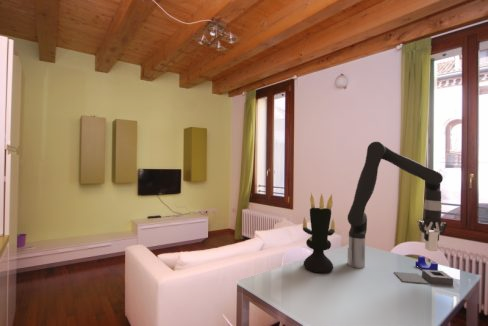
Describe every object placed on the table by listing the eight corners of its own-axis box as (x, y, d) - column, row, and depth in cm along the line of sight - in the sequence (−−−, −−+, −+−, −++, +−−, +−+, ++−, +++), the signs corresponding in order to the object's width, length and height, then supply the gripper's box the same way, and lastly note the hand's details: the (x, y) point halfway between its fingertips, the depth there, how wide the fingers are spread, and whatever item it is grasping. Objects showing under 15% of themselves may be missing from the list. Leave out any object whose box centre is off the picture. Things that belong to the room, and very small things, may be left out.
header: (431, 283, 138) (431, 276, 138) (421, 275, 148) (422, 269, 148) (453, 285, 136) (453, 278, 136) (442, 277, 146) (442, 270, 146)
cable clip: (415, 266, 162) (415, 256, 162) (422, 266, 162) (422, 256, 162) (430, 274, 150) (430, 263, 150) (437, 274, 150) (438, 263, 151)
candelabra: (333, 263, 163) (334, 189, 163) (340, 279, 141) (341, 193, 141) (301, 261, 166) (303, 188, 167) (303, 275, 145) (304, 192, 145)
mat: (402, 282, 139) (402, 280, 139) (393, 272, 151) (393, 271, 151) (428, 284, 137) (428, 283, 137) (417, 274, 149) (417, 273, 149)
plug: (428, 250, 141) (429, 231, 141) (425, 248, 145) (425, 229, 145) (437, 251, 141) (438, 232, 141) (433, 248, 145) (433, 230, 145)
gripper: (421, 209, 140) (420, 242, 140) (451, 210, 138) (450, 244, 138) (414, 206, 148) (413, 238, 148) (443, 208, 145) (442, 240, 145)
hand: (431, 240), depth 143 cm, fingers closed on plug, 4 cm apart
